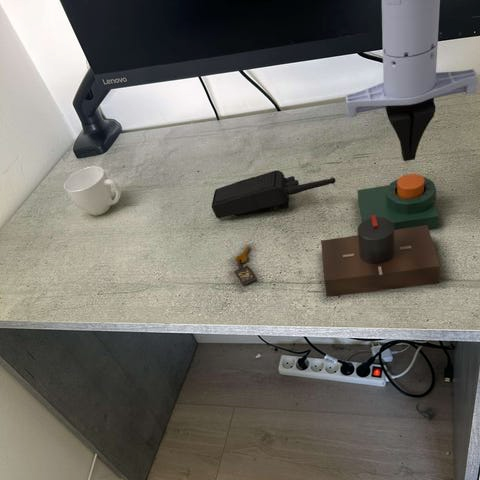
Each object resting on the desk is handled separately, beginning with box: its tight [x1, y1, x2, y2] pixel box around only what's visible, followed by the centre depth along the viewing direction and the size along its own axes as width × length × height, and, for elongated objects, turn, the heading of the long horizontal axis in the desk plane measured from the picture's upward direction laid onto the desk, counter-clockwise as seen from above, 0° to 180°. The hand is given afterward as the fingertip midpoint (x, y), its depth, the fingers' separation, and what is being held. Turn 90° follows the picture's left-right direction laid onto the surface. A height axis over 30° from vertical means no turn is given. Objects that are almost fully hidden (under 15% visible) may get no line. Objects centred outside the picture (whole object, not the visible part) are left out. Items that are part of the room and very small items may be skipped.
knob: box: [357, 215, 394, 263], centre depth 62 cm, size 4×4×4 cm
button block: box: [357, 176, 440, 230], centre depth 71 cm, size 10×9×4 cm
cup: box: [63, 166, 122, 217], centre depth 90 cm, size 8×10×7 cm
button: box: [397, 173, 425, 199], centre depth 68 cm, size 4×4×2 cm
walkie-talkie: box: [211, 170, 336, 219], centre depth 78 cm, size 6×6×20 cm
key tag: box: [234, 245, 258, 287], centre depth 72 cm, size 8×3×1 cm, turn 7°
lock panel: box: [320, 225, 441, 297], centre depth 64 cm, size 14×9×3 cm, turn 87°
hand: (408, 156), depth 63 cm, fingers closed
